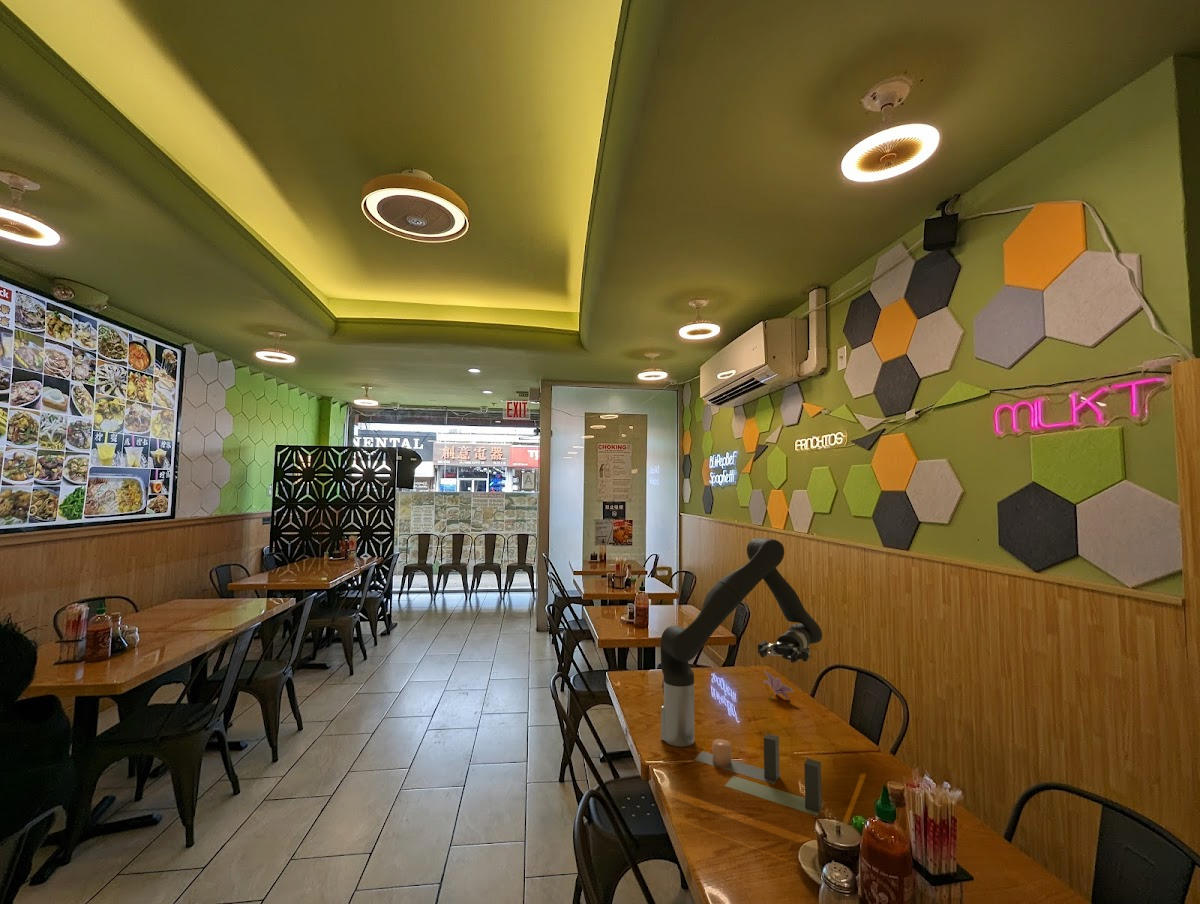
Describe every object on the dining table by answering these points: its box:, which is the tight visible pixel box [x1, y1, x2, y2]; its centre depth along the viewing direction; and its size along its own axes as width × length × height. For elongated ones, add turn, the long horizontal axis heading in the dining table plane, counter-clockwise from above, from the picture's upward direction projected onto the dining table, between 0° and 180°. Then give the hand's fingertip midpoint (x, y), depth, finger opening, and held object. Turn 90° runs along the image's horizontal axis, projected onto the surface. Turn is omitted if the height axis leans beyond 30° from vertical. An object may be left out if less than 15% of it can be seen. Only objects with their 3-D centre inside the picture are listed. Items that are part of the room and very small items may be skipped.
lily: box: [763, 669, 795, 702], centre depth 196 cm, size 12×12×10 cm
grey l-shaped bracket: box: [693, 733, 782, 785], centre depth 144 cm, size 22×6×11 cm, turn 56°
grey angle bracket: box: [724, 757, 824, 817], centre depth 130 cm, size 22×6×11 cm, turn 56°
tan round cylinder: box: [711, 738, 732, 767], centre depth 146 cm, size 5×5×5 cm
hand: (776, 656), depth 154 cm, fingers open, 8 cm apart
